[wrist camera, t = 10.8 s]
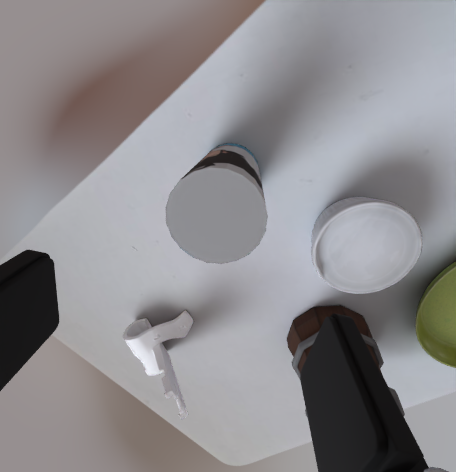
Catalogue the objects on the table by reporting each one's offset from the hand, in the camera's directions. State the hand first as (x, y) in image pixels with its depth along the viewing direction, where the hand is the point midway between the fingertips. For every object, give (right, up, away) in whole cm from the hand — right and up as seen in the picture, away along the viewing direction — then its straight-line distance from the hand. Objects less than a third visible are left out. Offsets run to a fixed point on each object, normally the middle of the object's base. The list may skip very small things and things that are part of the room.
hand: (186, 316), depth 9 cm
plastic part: (-8, -13, +33) cm, 37 cm away
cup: (+2, +10, +22) cm, 24 cm away
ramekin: (+17, +3, +24) cm, 29 cm away
